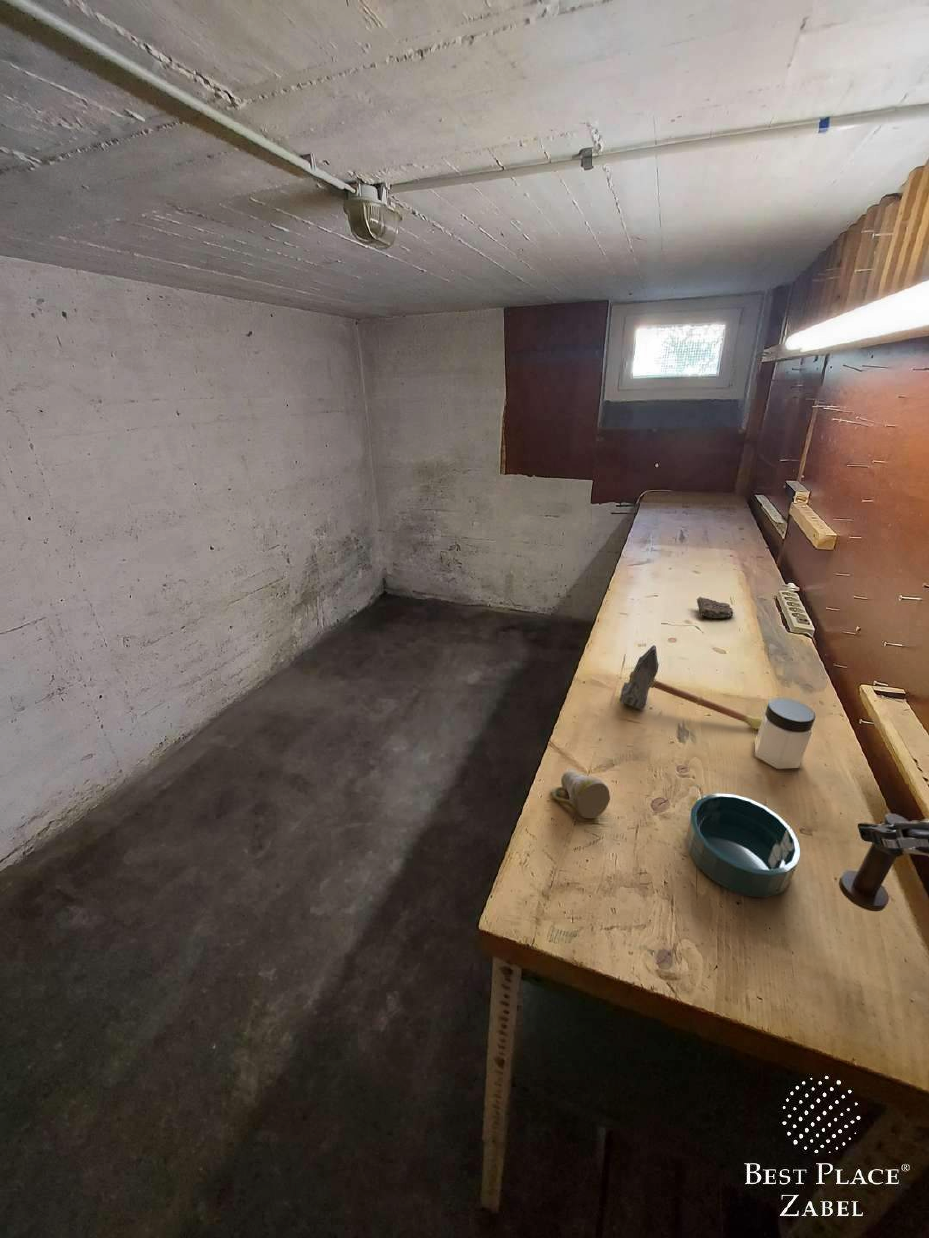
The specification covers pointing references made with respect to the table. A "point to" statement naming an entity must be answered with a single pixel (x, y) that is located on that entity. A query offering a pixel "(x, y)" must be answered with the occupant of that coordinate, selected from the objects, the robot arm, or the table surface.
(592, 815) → the mug
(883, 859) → the brown flanged rod
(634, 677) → the hammer
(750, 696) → the table surface
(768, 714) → the jar
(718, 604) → the concrete sample
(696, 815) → the bowl
